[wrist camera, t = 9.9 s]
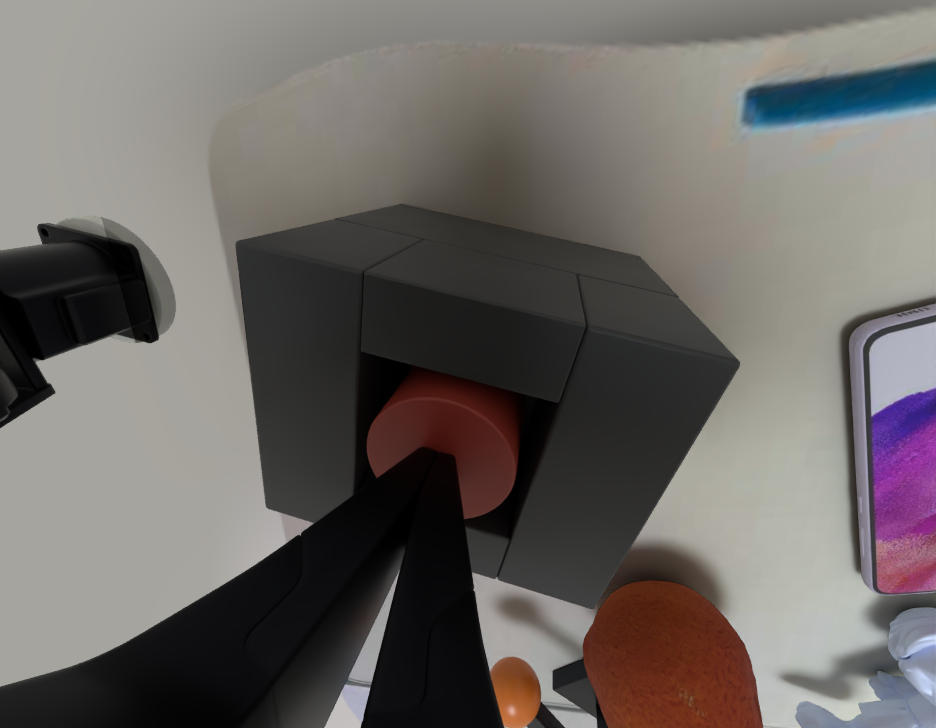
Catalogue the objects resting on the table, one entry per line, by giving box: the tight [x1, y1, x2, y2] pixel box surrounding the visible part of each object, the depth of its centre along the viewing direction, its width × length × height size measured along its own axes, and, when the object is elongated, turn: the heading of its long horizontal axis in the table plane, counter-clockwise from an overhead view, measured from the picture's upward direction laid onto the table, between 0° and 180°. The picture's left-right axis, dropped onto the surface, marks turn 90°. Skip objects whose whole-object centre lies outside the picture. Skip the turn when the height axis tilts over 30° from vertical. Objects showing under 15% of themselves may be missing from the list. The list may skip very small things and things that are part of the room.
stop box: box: [236, 204, 740, 609], centre depth 13 cm, size 10×8×10 cm
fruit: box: [583, 580, 763, 728], centre depth 20 cm, size 9×9×8 cm
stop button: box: [367, 366, 526, 519], centre depth 11 cm, size 4×4×4 cm
